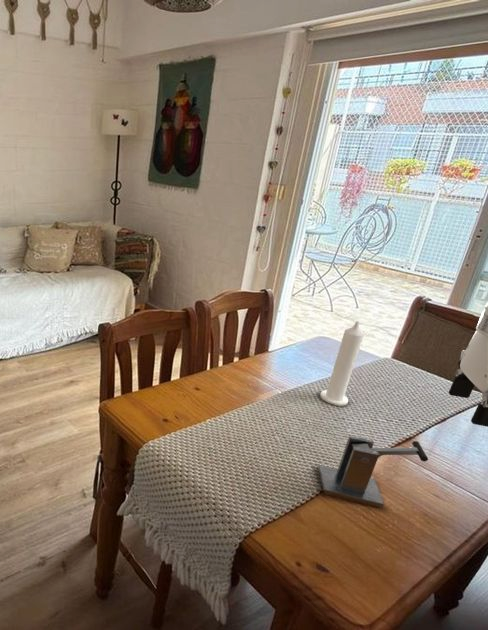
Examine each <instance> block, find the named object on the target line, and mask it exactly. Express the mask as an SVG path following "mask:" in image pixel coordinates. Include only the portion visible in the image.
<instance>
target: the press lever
mask: <svg viewBox="0 0 488 630" xmlns="http://www.w3.org/2000/svg"><path fill="white" fill-rule="evenodd" d="M411 445H412V447H372V448H369V446H368V444H352V448H353V447H356V448H361V449H366V450H370V451H375V452H378V454H379V456H406V455H407V456H415V455H416V456H418V458H419V460H420V461H421V462H427V461H428V460H429V457H428V456H427V454H426V452H425V450H424V449H423V447H422V446H421V444H420V442H419V441H416V440H414V441H412V442H411Z"/></svg>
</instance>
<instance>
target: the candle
mask: <svg viewBox="0 0 488 630" xmlns="http://www.w3.org/2000/svg"><path fill="white" fill-rule="evenodd" d="M359 323H360V322H359V320H356V321H355V323H354V325H352V326H351V327H349V328H346V329H344V332H343V335H342V338H341V342H340V345H339V349H338V352H337V355H336V358H335V362H334V365H333V368H332V371H331V376H330V379H329V381H328V384H327V389H325V390H321V391H320V394H319V396H320V398H321V399H322V400H323V401H325V402H326V403H328V404H331V405H334V406H340V407H343V406H346V405H348V403H349V399H348V397H347V396H346V393H347V389H348V386H349V383H350V380H351V376H352V373H353V369H354V368H355V364H356V360H357V357H358V355H359V351H360V348H361V345H362V343H363V339H364V335H365V334H364V332H363V331H362V330H361V328H360V324H359Z"/></svg>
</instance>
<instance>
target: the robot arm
mask: <svg viewBox="0 0 488 630" xmlns="http://www.w3.org/2000/svg"><path fill="white" fill-rule="evenodd" d="M457 366H458V369H457V370H455V377H454V378H453V380H452V383H451V385H450V388H449V390H448V394H449V395H450V396H453V397H457V398H464V399H469V398H470V396H471V394H472V392H473V390H474V388H475V387H476V388H477V389H478V390H479V391H480V392H481V395H482V396H481V401H482V402H481V403H478V404H477V407H476V409H475V411H474V413H473V415H472V417H471V420H470V422H471V424H473V425H477V426H481V427H487V428H488V301H486V303H485V306H484V308H483V311H482V313H481V315H480V317H479V320H478V322H477V325H476V327H475V331H474V334H473V336H472V338H471V339H470V341H469V343H468V345H467V347H466V348H465V349H462V350H461V353H460V358H459V361H458V362H457Z"/></svg>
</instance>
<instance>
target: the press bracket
mask: <svg viewBox="0 0 488 630" xmlns="http://www.w3.org/2000/svg"><path fill="white" fill-rule="evenodd" d="M352 444H368V446H369V448H374V447H373V446H374V444H375V442H374V440H373V439H369V438H365V437H360V436H354V435H349V436H348V439H347V441H346V444H345V448H344V451H343V453H342V455H341V459H340V462H339V465H338V467H337V468H335V467H330V466H325V465H321V464H319V465H318V467H317V471H318V476H319V480H320V484H321V489H322V493H323V495H327V496H331V497H335V498H339V499H343V500H347V501H351V502H355V503H359V504H364V505H367V506H371V507H376V508H380V509H383V508H384V506H385V503H384V500H383V497H382V495H381V493H380V490H379V487H378V484H377V481H376V480H375V477H372V476H373V472H374V470H375V467H376V464H377V462H378V459H379V457H380V455H379V454H378V452H375V451H370V450H366V449H361V448H356V447H353V448H352Z"/></svg>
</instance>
